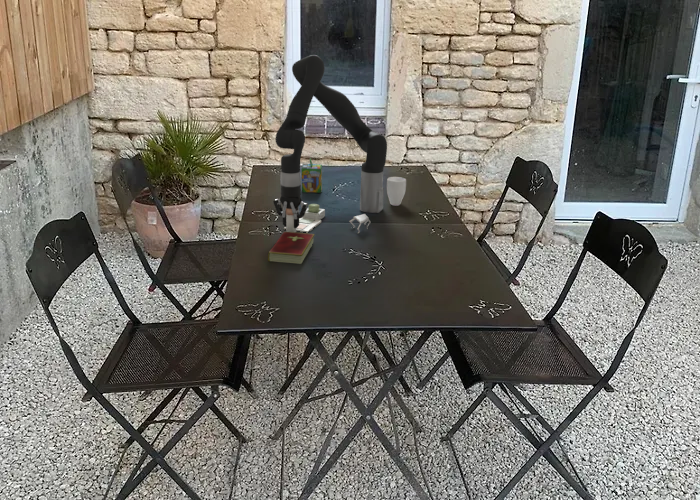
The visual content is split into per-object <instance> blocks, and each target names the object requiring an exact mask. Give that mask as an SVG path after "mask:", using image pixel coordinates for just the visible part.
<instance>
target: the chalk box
mask: <svg viewBox="0 0 700 500" xmlns="http://www.w3.org/2000/svg"><path fill="white" fill-rule="evenodd" d="M322 190H323V164H316V163H313V162H312V158H311V157H310V158H309V163H303V164H302V166H301V193H320V194H321V193H322Z"/></svg>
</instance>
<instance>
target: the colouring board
mask: <svg viewBox="0 0 700 500" xmlns="http://www.w3.org/2000/svg"><path fill="white" fill-rule="evenodd" d="M321 223H322V219H321V220H316V219H309V218H303V217H302V218H299V226H298V227H297V228H296V232H297V231H300V232H299V233H303V232H306V233H307V234H309V233H310V232H311V231H313V230H314V229H315V228H316V227H317V226H318V225H320V224H321ZM283 227H284V226H283ZM314 227H315V228H314ZM313 228H314V229H313ZM283 229H284V230H285V229H286V227H284V228H283ZM309 231H310V232H309ZM308 232H309V233H308Z"/></svg>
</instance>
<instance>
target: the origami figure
mask: <svg viewBox="0 0 700 500" xmlns="http://www.w3.org/2000/svg"><path fill="white" fill-rule="evenodd" d="M355 220H356V221H357V222H358V223H359V225H358V227H357V231H358V232H357V234H359V233H360V232H361V231H360V227H361V225H362V224H364V225H366V224H367V222H368V224H367V225H366V229H367V230H368V227H369V225H371V220H370V219H369V217H368V216H367V215H366V213H363V214H359V215H356V216H353V218H351V220H349V221H348V222H349V223H350V224H351V225H352V227H353V228H352V229H355V228H356V225H355V224H354V223H353V222H354V221H355Z"/></svg>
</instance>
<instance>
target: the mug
mask: <svg viewBox="0 0 700 500" xmlns="http://www.w3.org/2000/svg"><path fill="white" fill-rule="evenodd" d="M406 189H407V178H404V177H401V176H389V177H388V178H387V180H386V193H387V197H388V198H387V199H388V200H389V204H390V205H392V206H394V207H395V206H396V207H397V206H401V203H402V200H403V198H404V197H405V194H406Z"/></svg>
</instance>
